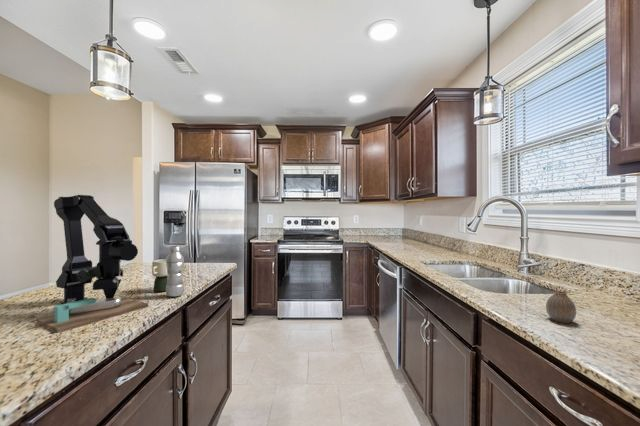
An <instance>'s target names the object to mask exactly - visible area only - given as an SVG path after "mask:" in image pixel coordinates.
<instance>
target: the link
mask: <svg viewBox="0 0 640 426" xmlns="http://www.w3.org/2000/svg"><path fill="white" fill-rule="evenodd" d="M121 299H122V297H120V296H118V297H117V296H116V297H115V296H114V297H113V298H108V299H106V298H101V299H96V303H92V304H88V305H84V306H79V307H75V308H71V309H69V314H75V313H81V312H87V311H94V310H100V309H106V308H113V307H118V306H120V305H121ZM75 301H76V298H69V299H67V303H71V302H75Z"/></svg>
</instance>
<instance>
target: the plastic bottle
mask: <svg viewBox="0 0 640 426" xmlns="http://www.w3.org/2000/svg"><path fill="white" fill-rule="evenodd" d="M165 259H166V266H167V273H168V274H167V276H168V277H167V286H166V290H165V294H166V295H167V297H173V298H175V297H179V296H182V295H183V294H184V292H185V284H184V277H183V271H184V262H185V258H184V256H183V254H182V253H181V245H170V246H169V253H168V255H167V256H166V257H165Z"/></svg>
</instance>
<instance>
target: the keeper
mask: <svg viewBox="0 0 640 426" xmlns="http://www.w3.org/2000/svg"><path fill="white" fill-rule="evenodd" d="M96 300H97V299H96V298H94V297H89V298H88V299H84V300H80V301H75V302H71V303H66V304H63V303H61V304H58V305H55V306H53V315H54V322H56V323H60V322H63V321H67V320H69V309H71V308H75V307H79V306H84V305H88V304H92V303H96Z"/></svg>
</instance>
